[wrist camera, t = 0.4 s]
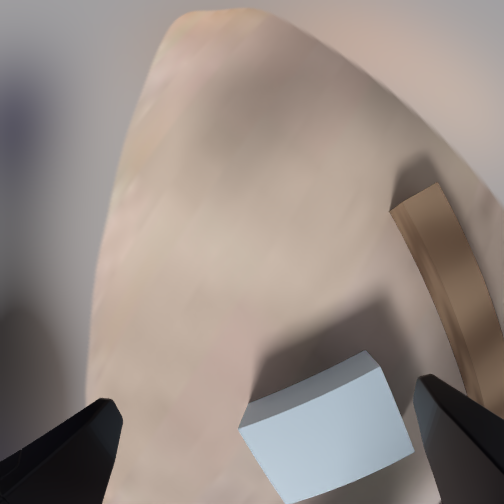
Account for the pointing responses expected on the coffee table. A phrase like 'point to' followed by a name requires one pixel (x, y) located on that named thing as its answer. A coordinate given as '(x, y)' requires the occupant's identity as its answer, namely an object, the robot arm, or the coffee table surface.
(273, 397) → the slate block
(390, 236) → the coffee table surface
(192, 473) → the coffee table surface
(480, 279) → the brown wooden bar
